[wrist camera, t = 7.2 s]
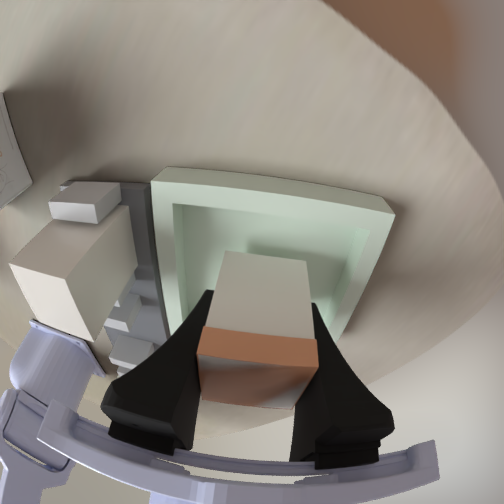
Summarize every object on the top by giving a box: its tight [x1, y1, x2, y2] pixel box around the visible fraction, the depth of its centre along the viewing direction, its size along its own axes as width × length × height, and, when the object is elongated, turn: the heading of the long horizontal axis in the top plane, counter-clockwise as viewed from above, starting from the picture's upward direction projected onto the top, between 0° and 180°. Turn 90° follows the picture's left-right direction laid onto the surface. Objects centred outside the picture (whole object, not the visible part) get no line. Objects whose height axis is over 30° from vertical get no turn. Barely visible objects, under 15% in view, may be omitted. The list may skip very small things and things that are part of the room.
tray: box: [151, 167, 395, 344], centre depth 15 cm, size 11×11×2 cm
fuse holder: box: [48, 181, 170, 377], centre depth 18 cm, size 6×23×3 cm, turn 174°
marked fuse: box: [197, 250, 319, 409], centre depth 12 cm, size 4×4×6 cm
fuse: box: [9, 205, 138, 342], centre depth 12 cm, size 4×4×6 cm
